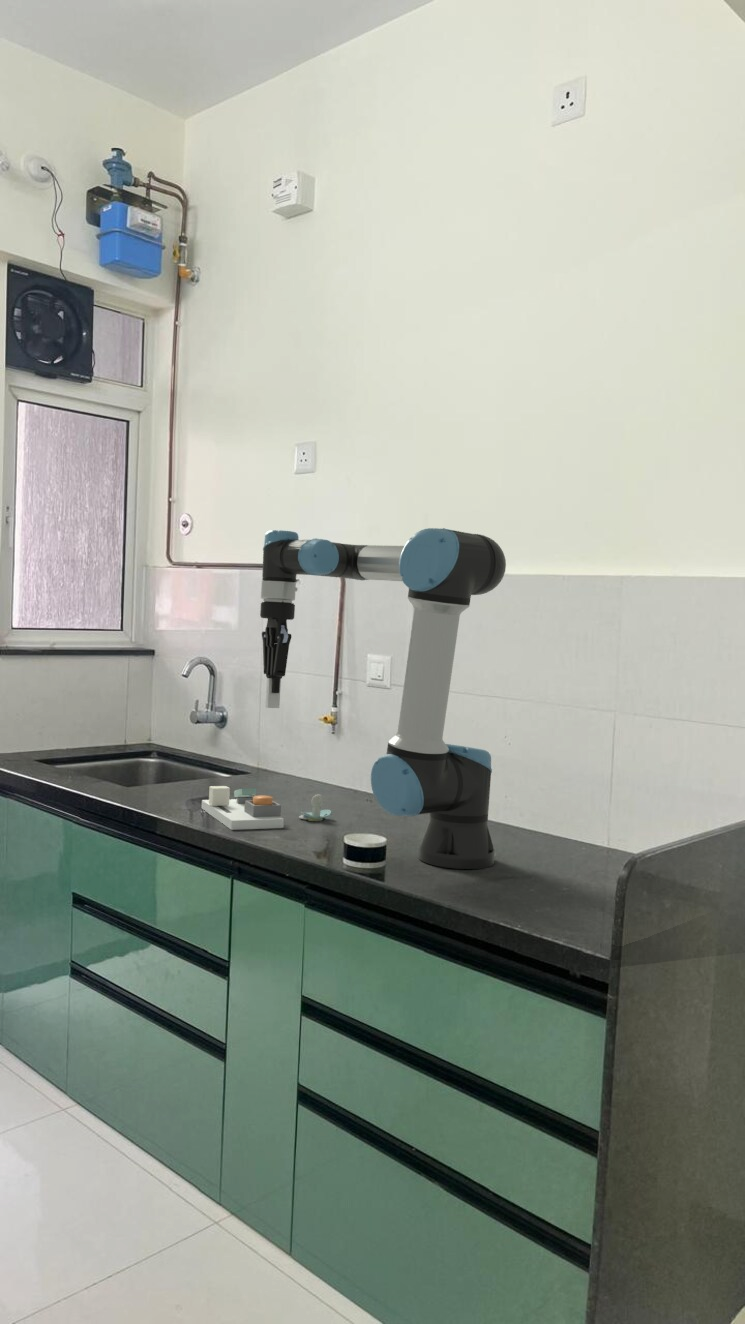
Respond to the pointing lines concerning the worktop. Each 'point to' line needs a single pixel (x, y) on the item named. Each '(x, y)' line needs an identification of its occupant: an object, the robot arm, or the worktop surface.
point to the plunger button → (262, 800)
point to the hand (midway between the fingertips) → (272, 707)
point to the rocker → (245, 792)
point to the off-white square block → (219, 795)
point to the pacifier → (316, 810)
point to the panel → (246, 814)
